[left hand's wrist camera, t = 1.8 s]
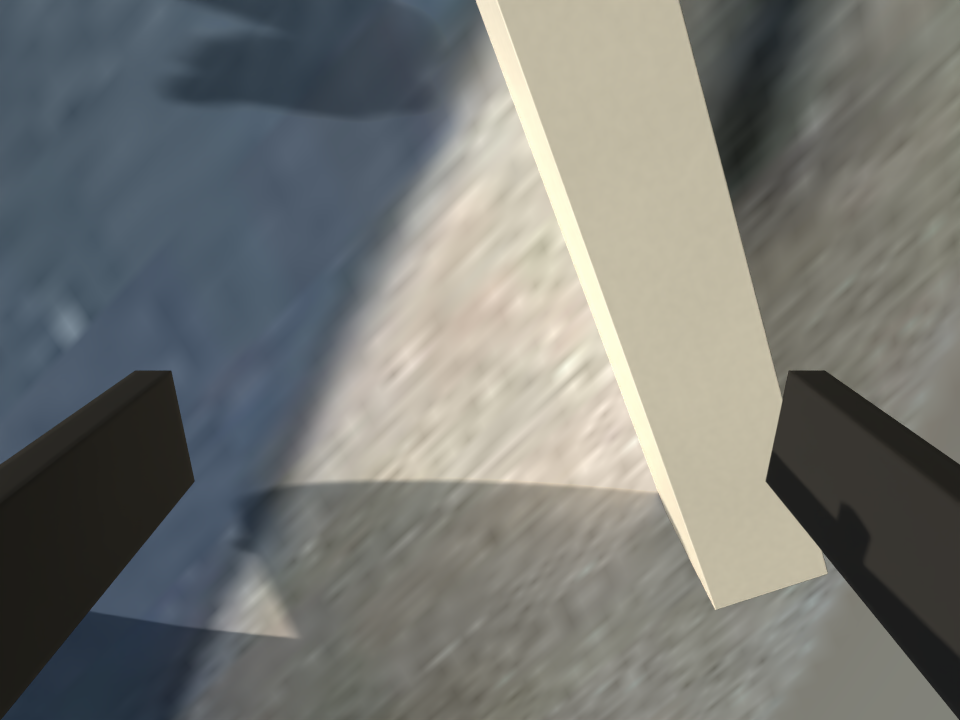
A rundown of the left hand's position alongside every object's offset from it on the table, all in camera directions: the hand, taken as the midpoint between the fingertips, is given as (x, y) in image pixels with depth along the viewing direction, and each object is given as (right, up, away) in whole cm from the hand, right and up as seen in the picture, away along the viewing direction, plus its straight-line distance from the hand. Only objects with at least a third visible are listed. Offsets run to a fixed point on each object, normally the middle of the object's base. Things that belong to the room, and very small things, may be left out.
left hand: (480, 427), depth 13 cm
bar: (-1, +26, +10) cm, 28 cm away
